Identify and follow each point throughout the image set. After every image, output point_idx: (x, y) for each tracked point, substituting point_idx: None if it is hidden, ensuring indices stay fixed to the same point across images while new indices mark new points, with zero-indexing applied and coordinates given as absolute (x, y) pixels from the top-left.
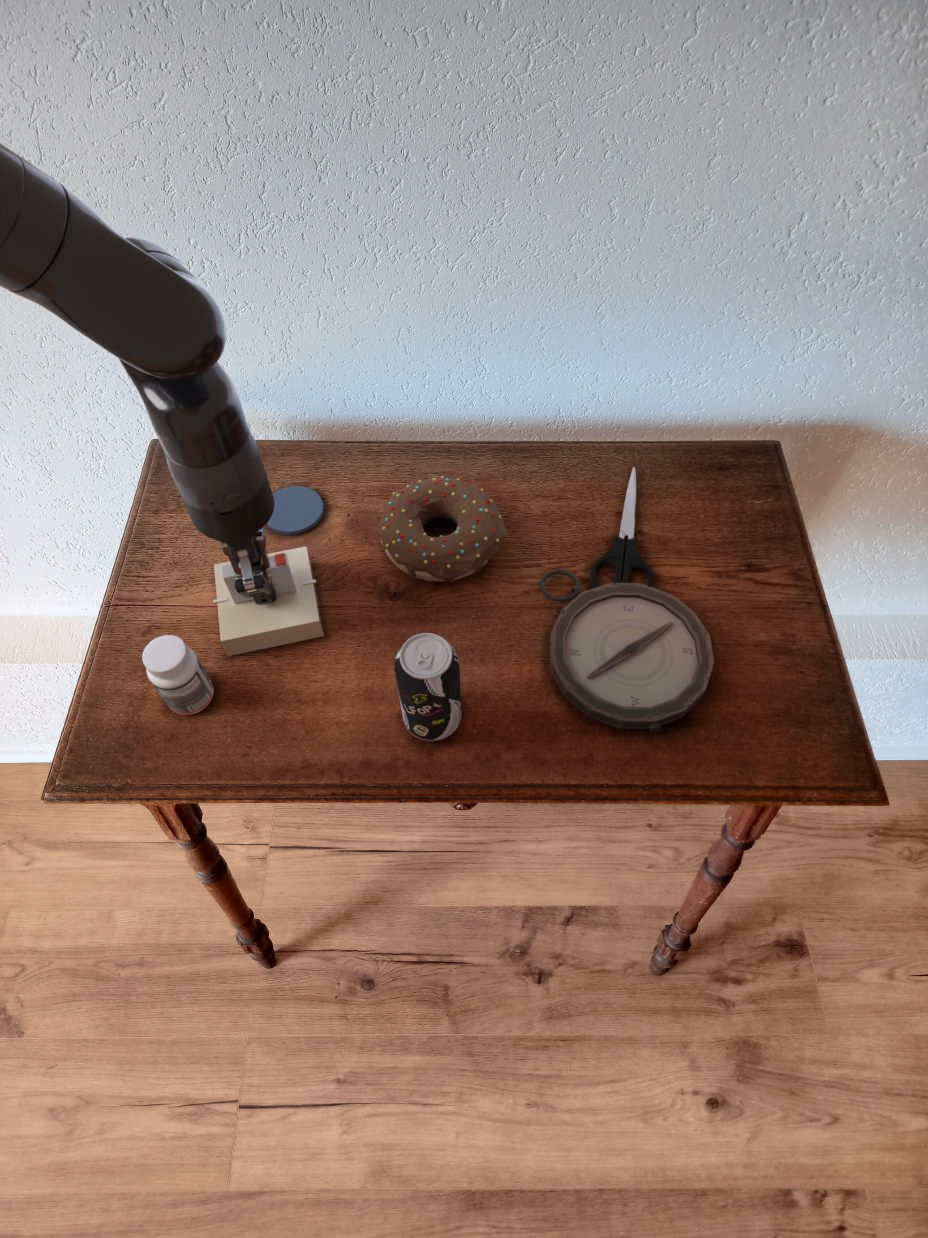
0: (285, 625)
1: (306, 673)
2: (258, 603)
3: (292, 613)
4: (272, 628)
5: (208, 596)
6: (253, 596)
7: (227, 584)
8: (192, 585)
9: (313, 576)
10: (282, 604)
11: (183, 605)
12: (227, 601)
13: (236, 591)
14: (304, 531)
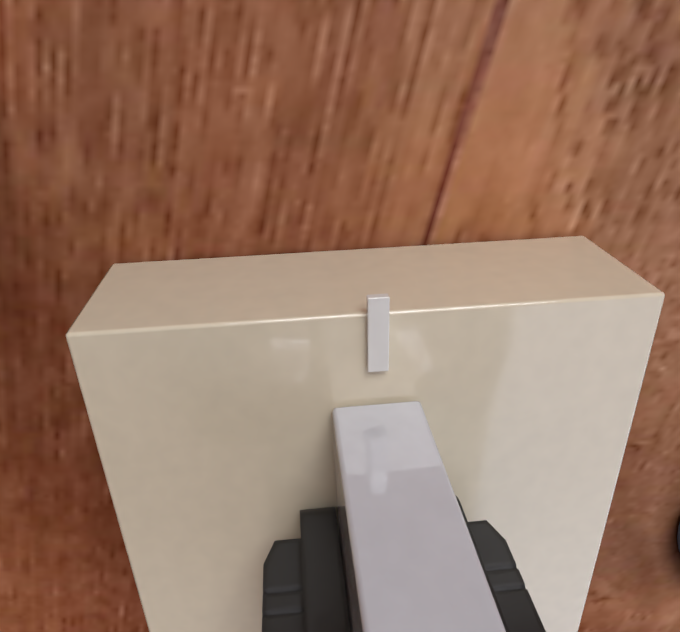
0: (155, 603)
1: (17, 542)
2: (264, 567)
3: (221, 623)
4: (140, 561)
5: (512, 167)
6: (303, 569)
7: (355, 574)
8: (619, 78)
9: None
10: None
11: (501, 18)
12: (360, 369)
13: (344, 521)
14: (678, 538)
